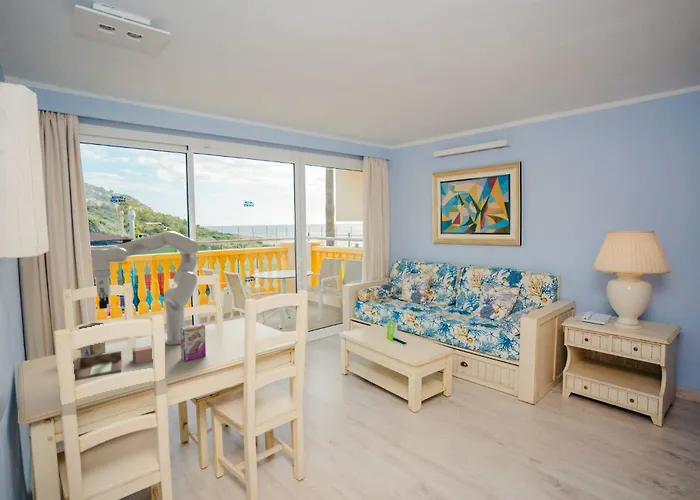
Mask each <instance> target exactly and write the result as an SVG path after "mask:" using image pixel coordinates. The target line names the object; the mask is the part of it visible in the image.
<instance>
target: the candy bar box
mask: <svg viewBox="0 0 700 500" xmlns="http://www.w3.org/2000/svg"><path fill="white" fill-rule="evenodd" d="M180 341H181V344H180V360H182V361H183V362H187V361H191V360H195V359H199V358H203V357H206V352H207V351H206V350H207V349H206V325H204V324H202V323H200V324H194V325H187V326H185V327H183V328H180Z"/></svg>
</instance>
